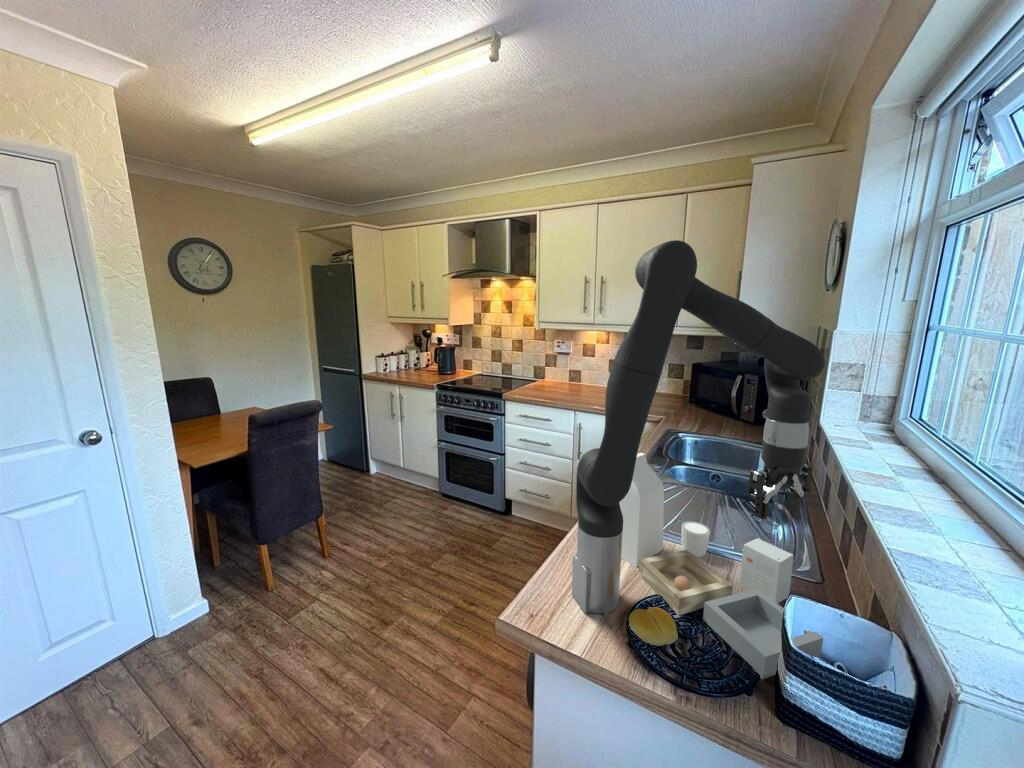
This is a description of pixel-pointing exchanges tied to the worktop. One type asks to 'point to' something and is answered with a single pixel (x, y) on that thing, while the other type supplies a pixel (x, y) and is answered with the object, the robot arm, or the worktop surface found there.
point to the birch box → (684, 563)
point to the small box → (766, 569)
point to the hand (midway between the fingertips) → (776, 514)
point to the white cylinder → (695, 538)
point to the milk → (642, 514)
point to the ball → (682, 583)
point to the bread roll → (653, 626)
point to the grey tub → (755, 629)
